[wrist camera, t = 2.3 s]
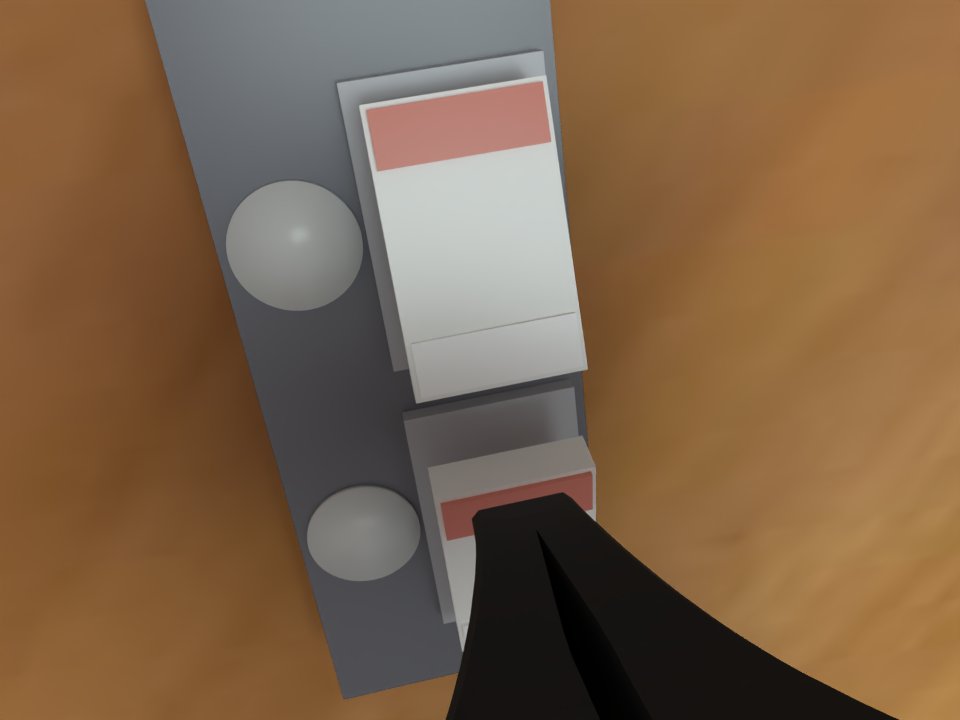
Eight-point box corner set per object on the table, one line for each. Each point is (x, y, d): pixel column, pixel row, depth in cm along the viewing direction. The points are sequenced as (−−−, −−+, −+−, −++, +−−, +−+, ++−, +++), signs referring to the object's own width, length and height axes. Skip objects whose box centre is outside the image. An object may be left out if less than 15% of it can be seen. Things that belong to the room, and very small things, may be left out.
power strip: (581, 616, 25) (619, 709, 22) (352, 669, 24) (357, 773, 21) (512, -71, 17) (556, -84, 14) (165, -22, 16) (126, -23, 13)
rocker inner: (584, 589, 20) (596, 624, 19) (455, 618, 20) (463, 655, 19) (582, 435, 17) (597, 470, 16) (427, 467, 16) (435, 505, 16)
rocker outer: (575, 359, 16) (589, 370, 15) (413, 392, 16) (417, 405, 15) (535, 82, 15) (547, 73, 14) (359, 110, 14) (359, 104, 13)
